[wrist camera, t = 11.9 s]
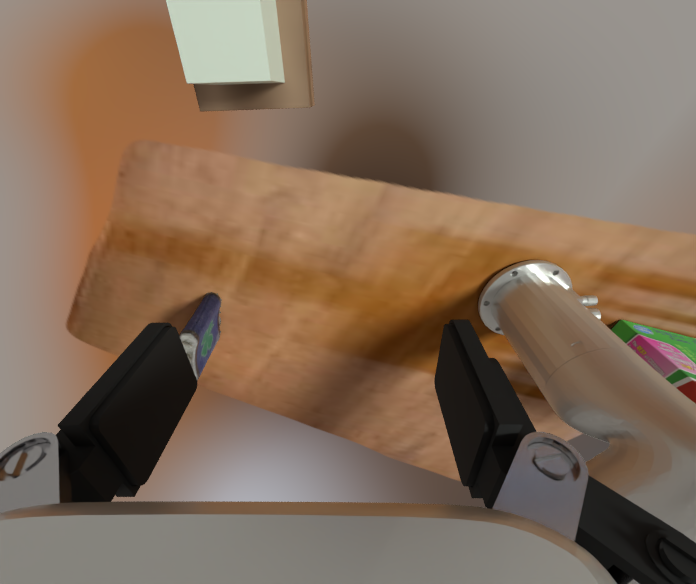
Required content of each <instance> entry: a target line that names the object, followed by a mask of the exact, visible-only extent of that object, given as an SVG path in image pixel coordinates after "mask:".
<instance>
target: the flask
mask: <svg viewBox="0 0 696 584" xmlns="http://www.w3.org/2000/svg"><path fill="white" fill-rule="evenodd" d="M220 307H221V298H220V297H219V296H218V294H215V293H212V292H211V293H207V294H206V295H205V297H204V298H203V300H202V302H201V304H200V305H199V307H198V308H197V310H196V312H195V313H194V315H193V316H192V318H191V319H190V321H189V322H188V323H187V325H186V326H185V328H184V329H183V331H182V332H181V333H180V335H179V336H180V339H181V341H182V344H183V346H184V349H185V351H186V354H187V356H188V359H189V361H190V364H191V366H192V369H193V371H194V374H195V376H196V379H197V380H198V379H199V377H200V375H201V373H202V371H203V368H204V367H205V365H206V362H207V360H208V358H209V357H210V355H211V353H212V351H213V349H214V347H215V345H216V343H217V341H218V340H219V338H220V333H221V331H219V330H220V329H219V328H220V327H219V326H220V324H221V323H220V322H221V319H220V317H219V313H221V312H220Z"/></svg>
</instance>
